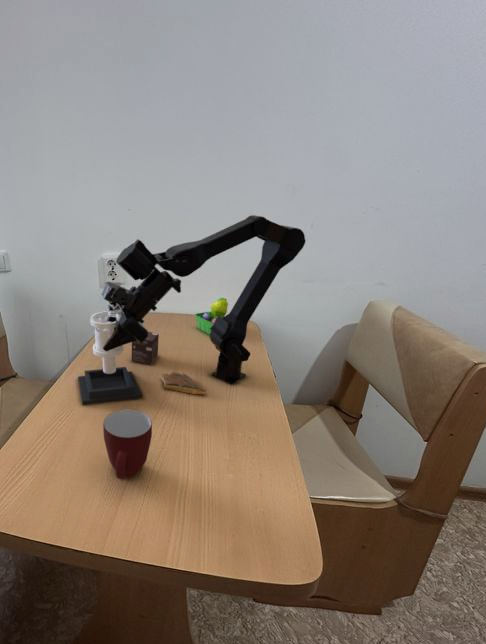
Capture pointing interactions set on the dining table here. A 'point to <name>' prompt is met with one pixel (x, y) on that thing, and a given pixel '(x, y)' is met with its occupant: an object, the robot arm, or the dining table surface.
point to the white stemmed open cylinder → (106, 339)
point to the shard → (181, 383)
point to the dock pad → (108, 386)
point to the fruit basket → (211, 315)
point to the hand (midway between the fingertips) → (102, 343)
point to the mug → (127, 440)
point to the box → (146, 349)
